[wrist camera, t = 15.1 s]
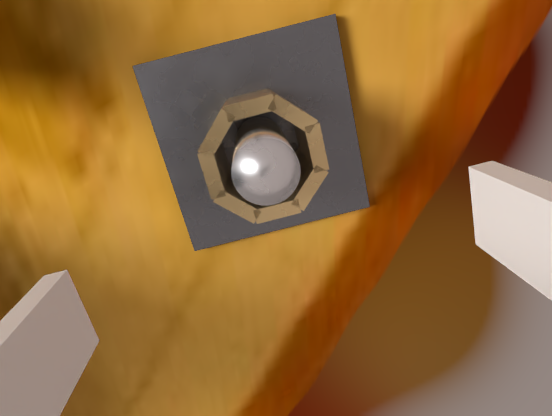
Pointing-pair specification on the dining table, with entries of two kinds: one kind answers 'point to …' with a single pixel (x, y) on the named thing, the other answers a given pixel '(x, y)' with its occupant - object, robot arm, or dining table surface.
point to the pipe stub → (256, 126)
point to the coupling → (307, 153)
